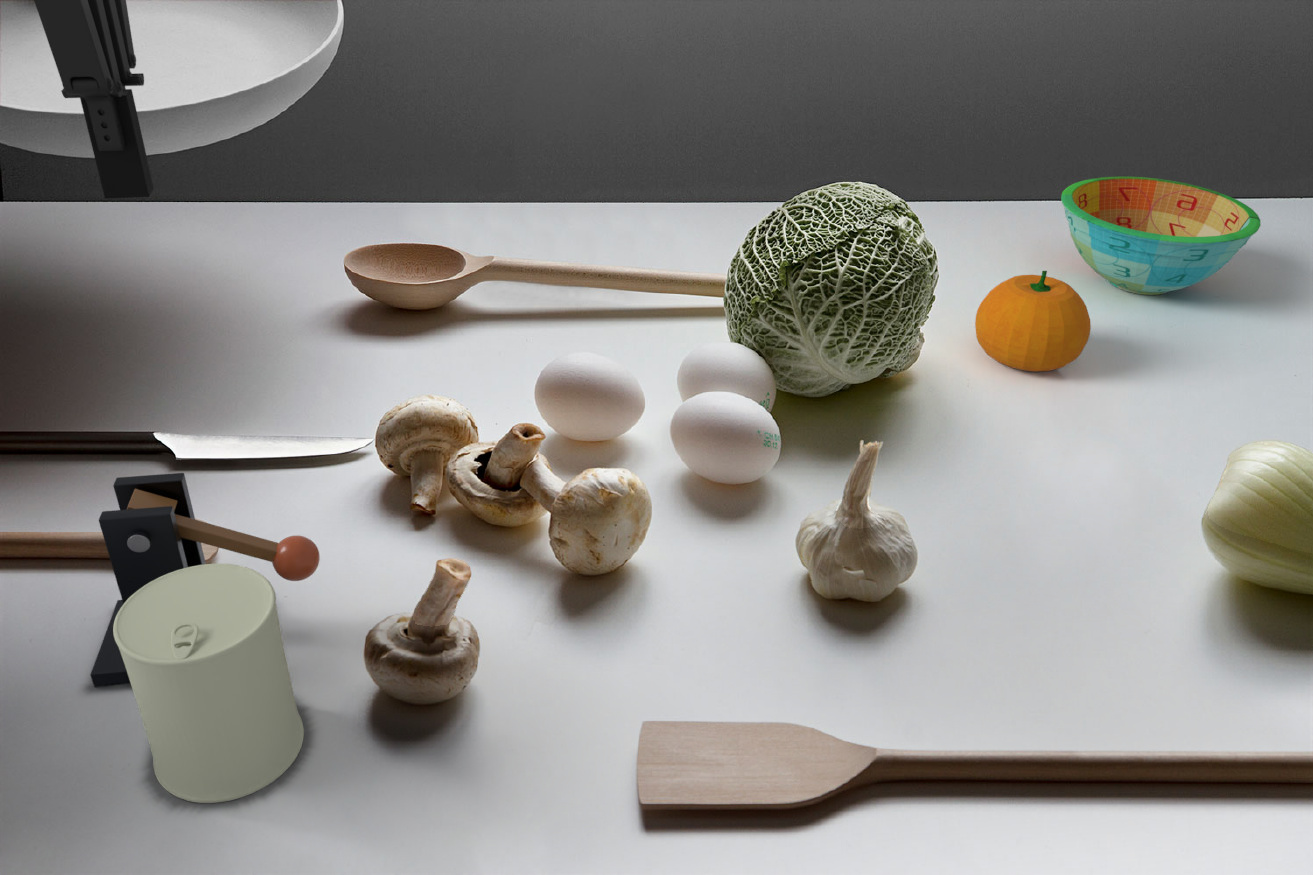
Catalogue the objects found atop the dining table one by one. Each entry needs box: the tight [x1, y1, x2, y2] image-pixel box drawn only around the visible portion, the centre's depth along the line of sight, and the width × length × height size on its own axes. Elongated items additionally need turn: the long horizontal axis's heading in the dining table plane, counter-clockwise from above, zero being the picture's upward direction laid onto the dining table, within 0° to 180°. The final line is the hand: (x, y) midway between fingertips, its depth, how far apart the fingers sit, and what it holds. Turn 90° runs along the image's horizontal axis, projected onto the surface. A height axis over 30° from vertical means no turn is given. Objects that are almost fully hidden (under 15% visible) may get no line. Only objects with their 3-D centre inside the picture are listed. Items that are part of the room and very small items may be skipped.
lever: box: [127, 489, 321, 582], centre depth 78 cm, size 13×3×3 cm, turn 100°
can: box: [113, 563, 305, 804], centre depth 70 cm, size 9×9×12 cm
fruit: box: [974, 270, 1092, 372], centre depth 120 cm, size 12×12×10 cm
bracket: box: [90, 472, 207, 688], centre depth 78 cm, size 10×8×13 cm
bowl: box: [1060, 176, 1261, 296], centre depth 137 cm, size 22×22×10 cm
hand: (129, 193), depth 74 cm, fingers closed
